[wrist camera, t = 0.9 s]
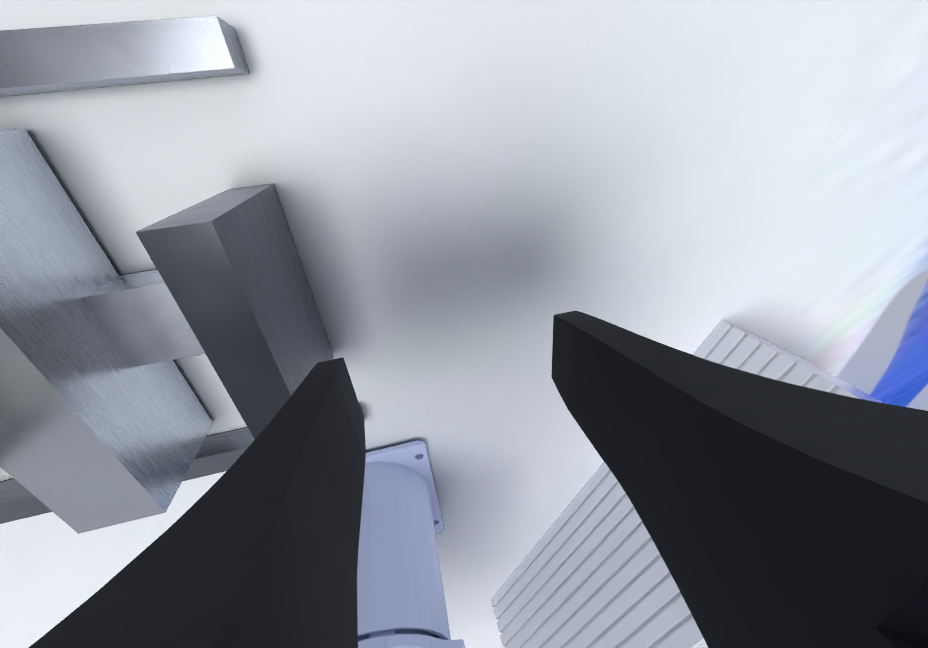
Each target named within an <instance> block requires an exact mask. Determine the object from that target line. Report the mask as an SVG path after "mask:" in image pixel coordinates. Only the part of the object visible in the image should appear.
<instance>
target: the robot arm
mask: <svg viewBox="0 0 928 648" xmlns="http://www.w3.org/2000/svg"><path fill="white" fill-rule="evenodd" d="M552 379H553V381H554V383H555V385H556V387H557V389H558V391H559V393H560V395H561V397H562V399H563V401H564V403H565V405H566V406H567V408H568V410H569V411H570V413H571V414H572V416H573V417H574V419H575V420H576V422H577V423H578V425H579V426H580V428H581V429H582V430H583V432H584V433H585V435H586V436H587V438H588V439H589V440H590V442H591V443H592V445H593V446H594V448H595V449H596V450H597V452H598V453H599V455H600V456H601V458H602V459H603V461H604V462H605V463H606V465H607V466H608V468H609V469H610V471H611V472H612V473H613V475H614V476H615V478H616V479H617V481H618V482H619V484H620V485H621V487H622V488H623V490H624V491H625V493H626V495H627V496H628V498H629V499H630V501H631V503H632V505H633V506H634V508H635V510H636V512H637V513H638V515H639V517H640V519H641V520H642V522H643V524H644V526H645V528H646V529H647V531H648V533H649V535H650V536H651V538H652V540H653V542H654V544H655V546H656V547H657V549H658V551H659V553H660V555H661V557H662V559H663V560H664V562H665V564H666V566H667V568H668V570H669V572H670V574H671V575H672V577H673V579H674V581H675V583H676V585H677V587H678V589H679V591H680V593H681V595H682V597H683V599H684V601H685V603H686V604H687V606H688V608H689V610H690V612H691V614H692V616H693V618H694V620H695V622H696V624H697V626H698V628H699V630H700V632H701V634H702V636H703V638H704V640H705V642H706V644H707V646H708V648H928V411H925V410H919V409H913V408H907V407H901V406H896V405H890V404H884V403H879V402H874V401H869V400H864V399H859V398H853V397H848V396H843V395H839V394H835V393H830V392H826V391H821V390H817V389H812V388H808V387H803V386H799V385H794V384H790V383H786V382H782V381H778V380H774V379H771V378H767V377H763V376H760V375H756V374H753V373H749V372H746V371H742V370H739V369H735V368H731V367H728V366H725V365H722V364H718V363H715V362H712V361H709V360H706V359H703V358H700V357H697V356H694V355H691V354H689V353H686V352H683V351H680V350H677V349H674V348H672V347H669V346H666V345H664V344H661V343H658V342H656V341H653V340H651V339H648V338H646V337H643V336H640V335H638V334H635V333H633V332H631V331H628V330H626V329H623V328H621V327H618V326H616V325H613V324H611V323H608V322H606V321H603V320H601V319H598V318H596V317H593V316H590V315H588V314H585V313H582V312H578V311H572V312H567V313H562V314H557V315H554V323H553V351H552ZM417 454H418V455H417ZM443 530H444V526H443V521H442V516H441V512H440V507H439V503H438V499H437V494H436V490H435V485H434V481H433V476H432V472H431V467H430V463H429V458H428V454H427V449H426V445H425V443H424V442H423V441H413V442H409V443H405V444H401V445H397V446H392V447H388V448H384V449H380V450H376V451H372V452H367V453H366V450H365V428H364V418H363V415H362V412H361V409H360V406H359V403H358V400H357V397H356V394H355V391H354V388H353V385H352V382H351V379H350V376H349V373H348V370H347V367H346V364H345V361H344V358H338V359H333V360H328V361H323V362H318V363H317V364H316V365H315V366H314V367H313V368H312V370H311V371H310V372H309V373H308V375H307V376H306V377H305V379H304V380H303V381H302V383H301V384H300V385H299V386H298V388H297V389H296V390H295V392H294V393H293V394H292V395H291V397H290V398H289V399H288V400H287V402H286V403H285V404H284V405H283V407H282V408H281V409H280V410H279V412H278V413H277V414H276V415H275V417H274V418H273V419H272V420H271V422H270V423H269V424H268V425H267V427H266V428H265V429H264V430H263V431H262V432H261V433H260V434H259V436H258V437H257V438H256V439H255V440H254V441H253V442H252V444H251V445H250V446H249V447H248V448H247V449H246V450H245V451H244V453H243V454H242V455H241V456H240V457H239V458H238V459H237V461H236V462H235V463H234V464H233V465H232V466H231V467H230V468H229V469H228V470H227V471H226V473H225V474H224V475H223V476H222V477H221V478H220V479H219V480H218V481H217V482H216V483H215V484H214V485H213V486H212V487H211V488H210V489H209V490H208V491H207V492H206V493H205V494H204V495H203V496H202V497H201V498H200V499H199V500H198V501H197V502H196V503H195V504H194V505H193V506H192V507H191V508H190V509H189V510H188V511H187V512H186V513H185V514H184V515H183V516H181V517H180V518H179V519H178V520H177V521H176V522H175V523H174V524H173V525H172V526H171V527H170V528H169V529H168V530H167V531H165V532H164V533H163V534H162V535H161V536H160V537H159V538H158V539H156V540H155V541H154V542H153V543H152V544H151V545H150V546H148V547H147V548H146V549H145V550H144V551H143V552H142V553H141V554H139V555H138V556H137V557H136V558H135V559H134V560H133V561H131V562H130V563H129V564H128V565H127V566H126V567H125V568H124V569H122V570H121V571H120V572H119V573H118V574H117V575H116V576H114V577H113V578H112V579H111V580H110V581H109V582H108V583H107V584H105V585H104V586H103V587H102V588H101V589H100V590H99V591H97V592H96V593H95V594H94V595H93V596H91V597H90V598H89V599H88V600H87V601H85V602H84V603H83V604H82V605H81V606H79V607H78V608H77V609H76V610H74V611H73V612H72V613H71V614H70V615H68V616H67V617H66V618H65V619H64V620H62V621H61V622H60V623H59V624H57V625H56V626H55V627H54V628H53V629H51V630H50V631H49V632H48V633H46V634H45V635H44V636H43V637H42V638H40V639H39V640H38V641H36V642H35V643H34V644H33V645H31V646H30V647H29V648H465V646H464V641H463V640H462V639H459V640H451V638H450V631H449V624H448V618H447V611H446V604H445V597H444V591H443V584H442V577H441V570H440V564H439V557H438V550H437V543H436V537H435V535H437V534H439V533H441V532H442V531H443Z"/></svg>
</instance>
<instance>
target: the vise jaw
mask: <svg viewBox="0 0 928 648" xmlns="http://www.w3.org/2000/svg"><path fill="white" fill-rule="evenodd" d="M136 233H137V235H138V237H139V239H140V240H141V242H142V244H143V246H144V247H145V249H146V251H147V252H148V254H149V256H150V258H151V259H152V261H153V263H154V265H155V266H156V268H157V270H151V271H145V272H139V273H132V274H126V275H120V276H119V275H118V273H117V272H116V270H115V269H114V267H113V266H112V264H111V263H110V261H109V259H108V258H107V256H106V255H105V253H104V252H103V250H102V248H101V247H100V245H99V244H98V242H97V241H96V239H95V237H94V236H93V234H92V233H91V231H90V230H89V228H88V227H87V225H86V223H85V222H84V220H83V219H82V217H81V216H80V214H79V212H78V211H77V209H76V208H75V206H74V205H73V203H72V201H71V200H70V198H69V197H68V195H67V194H66V192H65V191H64V189H63V187H62V186H61V184H60V183H59V181H58V180H57V178H56V176H55V175H54V173H53V172H52V170H51V169H50V167H49V165H48V164H47V162H46V161H45V159H44V158H43V156H42V155H41V153H40V151H39V150H38V148H37V147H36V145H35V144H34V142H33V140H32V139H31V137H30V136H29V134H28V133H27V131H26V129H0V467H1V468H3V469H4V470H5V471H6V472H7V473H8V474H10V475H11V476H12V477H13V478H14V479H15V480H17V481H18V482H19V483H20V484H21V485H22V486H24V487H25V488H26V489H27V490H28V491H29V492H31V493H32V494H33V495H34V496H35V497H36V498H38V499H39V500H40V501H41V502H42V503H43V504H45V505H46V506H47V507H48V508H49V509H50V510H52V511H53V512H54V513H55V514H56V515H57V516H59V517H60V518H61V519H62V520H63V521H64V522H66V523H67V524H68V525H69V526H70V527H71V528H73V529H74V530H75V531H76V532H77V533H78V534H79V533H83V532H87V531H91V530H95V529H99V528H103V527H107V526H112V525H116V524H120V523H124V522H128V521H132V520H136V519H140V518H144V517H149V516H153V515H157V514H161V513H165V512H166V510H167V508H168V507H169V505H170V503H171V501H172V499H173V497H174V495H175V493H176V492H177V490H178V488H179V486H180V484H181V482H182V480H183V479H184V477H185V475H186V473H187V471H188V469H189V467H190V466H191V464H192V462H193V460H194V458H195V456H196V454H197V452H198V451H199V449H200V447H201V445H202V443H203V441H204V439H205V438H206V436H207V434H208V432H209V430H210V428H211V426H212V424H213V422H212V421H211V419H210V418H209V416H208V414H207V413H206V411H205V410H204V408H203V407H202V405H201V403H200V402H199V400H198V399H197V397H196V396H195V394H194V392H193V391H192V389H191V388H190V386H189V385H188V383H187V382H186V380H185V378H184V377H183V375H182V374H181V372H180V371H179V369H178V367H177V366H176V364H175V363H174V361H173V360H175V359H180V358H185V357H191V356H196V355H201V354H206V355H207V357H208V359H209V360H210V362H211V364H212V366H213V367H214V369H215V371H216V373H217V374H218V376H219V378H220V380H221V381H222V383H223V385H224V387H225V388H226V390H227V392H228V394H229V395H230V397H231V399H232V401H233V402H234V404H235V406H236V408H237V409H238V411H239V413H240V414H241V416H242V418H243V420H244V421H245V423H246V425H247V427H248V428H249V430H250V432H251V434H252V435H253V437H254V439H256V438H257V437H258V436H259V434H260V433H261V432H262V431H263V430H264V429H265V428H266V427H267V425H268V424H269V423H270V422H271V420H272V419H273V418H274V417H275V415H276V414H277V413H278V412H279V410H280V409H281V408H282V407H283V405H284V404H285V403H286V402H287V400H288V399H289V398H290V397H291V395H292V394H293V393H294V392H295V390H296V389H297V388H298V386H299V385H300V384H301V383H302V381H303V380H304V379H305V377H306V376H307V375H308V373H309V372H310V371H311V370H312V368H313V367H314V366H315V365H316V364H317V363H318V362H323V361H328V360H333V353H332V350H331V347H330V344H329V341H328V339H327V336H326V333H325V330H324V327H323V324H322V321H321V319H320V316H319V313H318V310H317V307H316V304H315V301H314V299H313V296H312V293H311V290H310V287H309V284H308V282H307V279H306V276H305V273H304V270H303V267H302V264H301V262H300V259H299V256H298V253H297V250H296V247H295V244H294V242H293V239H292V236H291V233H290V230H289V227H288V224H287V222H286V219H285V216H284V213H283V210H282V207H281V205H280V202H279V199H278V196H277V193H276V190H275V187H274V185H273V184H268V185H260V186H252V187H245V188H237V189H230V190H226V191H224V192H222V193H220V194H218V195H215V196H213V197H211V198H209V199H207V200H205V201H202V202H200V203H198V204H196V205H194V206H191V207H189V208H187V209H185V210H183V211H181V212H178V213H176V214H174V215H172V216H170V217H167V218H165V219H163V220H161V221H159V222H157V223H154V224H152V225H150V226H148V227H146V228H143V229H141V230H139V231H137V232H136Z"/></svg>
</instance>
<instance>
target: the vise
mask: <svg viewBox="0 0 928 648" xmlns="http://www.w3.org/2000/svg"><path fill="white" fill-rule="evenodd" d="M242 74H249V71H248V68H247V65H246V62H245V59H244V56H243V53H242V50H241V47H240V44H239V41H238V38H237V35H236V32H235V29H234V27H232V26H231V25H229V24H228V23H226V22H225V21H223V20H222V19H220V18H219V17H217V16H206V17H192V18H177V19H163V20H148V21H134V22H120V23H105V24H91V25H76V26H62V27H48V28H33V29H19V30H4V31H0V97H1V96H12V95H23V94H34V93H45V92H56V91H66V90H77V89H88V88H99V87H110V86H121V85H132V84H143V83H154V82H165V81H176V80H187V79H198V78H209V77H220V76H231V75H242ZM359 406H360V404H359ZM360 409H361V407H360ZM361 412H362V410H361ZM362 415H363V413H362ZM363 418H364V416H363ZM254 440H255V439H254V437H253V435H252V434H251V432H250V430H249V428H248V427H247V428H242V429H238V430H233V431H229V432H224V433H220V434H215V435H211V436H206V438H205V439H204V441H203V443H202V445H201V447H200V449H199V451H198V452H197V454H196V456H195V458H194V460H193V462H192V464H191V466H190V467H189V469H188V471H187V473H186V475H185V477H184V479H183V480H182V481H185V480H190V479H194V478H198V477H203V476H207V475H211V474H215V473H220V472H224V471H227V470H228V469H229V468H230V467H231V466H232V465H233V464H234V463H235V462H236V461H237V459H238V458H239V457H240V456H241V455H242V454H243V453H244V451H245V450H246V449H247V448H248V447H249V446H250V445H251V444H252V442H253V441H254ZM49 512H53V511H52V510H50V509H49V508H48V507H47V506H46V505H45V504H43V503H42V502H41V501H40V500H39V499H38V498H36V497H35V496H34V495H33V494H32V493H31V492H29V491H28V490H27V489H26V488H25V487H24V486H22V485H21V484H20V483H19V482H18V481H17V480H15V479H10V480H6V481H1V482H0V524H2V523H6V522H10V521H14V520H19V519H23V518H27V517H31V516H36V515H40V514H44V513H49Z"/></svg>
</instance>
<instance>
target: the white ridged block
mask: <svg viewBox="0 0 928 648" xmlns="http://www.w3.org/2000/svg"><path fill="white" fill-rule="evenodd" d="M693 355H694V356H697V357H700V358H703V359H706V360H709V361H712V362H715V363H718V364H722V365H725V366H728V367H731V368H735V369H739V370H742V371H746V372H749V373H753V374H756V375H760V376H763V377H767V378H771V379H774V380H778V381H782V382H786V383H790V384H794V385H799V386H803V387H808V388H812V389H817V390H821V391H826V392H830V393H835V394H839V395H843V396H848V397H853V398H859V399H864V400H869V401H874V402H879V403H882V402H881V401H879V400H877V399H875V398H874V397H872V396H870V395H868V394H866V393H864V392H863V391H861V390H859V389H857V388H855V387H854V386H852V385H850V384H847V383H846V382H845V381H843V380H841V379H839V378H837V377H835V376H833V375H832V374H830V373H828V372H826V371H825V370H823V369H821V368H819V367H817V366H816V365H814V364H812V363H810V362H808V361H806V360H804V359H802V358H800V357H798V356H796V355H794V354H792V353H790V352H787V351H785V350H783V349H781V348H779V347H777V346H775V345H773V344H771V343H769V342H767V341H765V340H762V339H760V338H758V337H756V336H754V335H752V334H750V333H748V332H746V331H744V330H742V329H740V328H737V327H735V326H733V325H731V324H729V323H727V322H725V321H723V320H721V321H720V322H719V323H718V325H717V326H716V327H715V328H714V329H713V331H712V332H711V333H710V334H709V336H708V337H707V338H706V339H705V340H704V342H703V343H702V344H701V345H700V346H699V348H698V349H697V350H696V351H695V353H694V354H693ZM491 601H492V605H493V607H495V610H494V613H495V617H496V619H498V620H499V621H498V622H497V625H498V629H499V632H502V634H501V635H500V637H501V641H502V645H503V646H505V648H708V646H707V644H706V642H705V640H704V638H703V636H702V634H701V632H700V630H699V628H698V626H697V624H696V622H695V620H694V618H693V616H692V614H691V612H690V610H689V608H688V606H687V604H686V603H685V601H684V599H683V597H682V595H681V593H680V591H679V589H678V587H677V585H676V583H675V581H674V579H673V577H672V575H671V574H670V572H669V570H668V568H667V566H666V564H665V562H664V560H663V559H662V557H661V555H660V553H659V551H658V549H657V547H656V546H655V544H654V542H653V540H652V538H651V536H650V535H649V533H648V531H647V529H646V528H645V526H644V524H643V522H642V520H641V519H640V517H639V515H638V513H637V512H636V510H635V508H634V506H633V505H632V503H631V501H630V499H629V498H628V496H627V495H626V493H625V491H624V490H623V488H622V487H621V485H620V484H619V482H618V481H617V479H616V478H615V476H614V475H613V473H612V472H611V471H610V469H609V468H608V466H607V465H606V463H605V462H604V463H603V464H602V465H601V467H600V468H599V469H598V470H597V471H596V473H595V474H594V475H593V476H592V477H591V479H590V480H589V481H588V482H587V484H586V485H585V486H584V487H583V488H582V490H581V491H580V492H579V493H578V494H577V496H576V497H575V498H574V499H573V500H572V502H571V503H570V504H569V505H568V507H567V508H566V509H565V510H564V511H563V513H562V514H561V515H560V516H559V517H558V519H557V520H556V521H555V522H554V524H553V525H552V526H551V527H550V528H549V530H548V531H547V532H546V533H545V534H544V536H543V537H542V538H541V539H540V541H539V542H538V543H537V544H536V545H535V547H534V548H533V549H532V550H531V551H530V553H529V554H528V555H527V556H526V557H525V559H524V560H523V561H522V562H521V564H520V565H519V566H518V567H517V568H516V570H515V571H514V572H513V573H512V574H511V576H510V577H509V578H508V579H507V581H506V582H505V583H504V584H503V585H502V587H501V588H500V589H499V590H498V591H497V593H496V594H495V595H494V596H493V597H492V599H491Z"/></svg>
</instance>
